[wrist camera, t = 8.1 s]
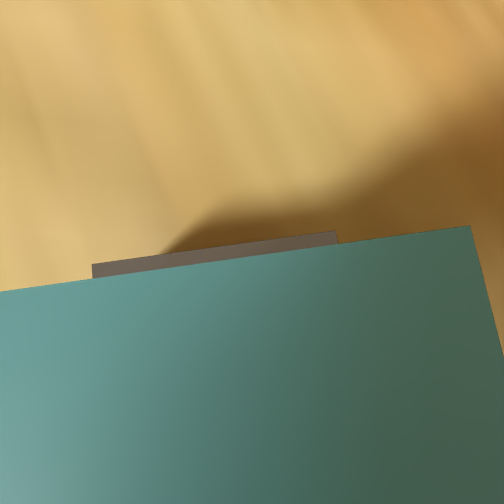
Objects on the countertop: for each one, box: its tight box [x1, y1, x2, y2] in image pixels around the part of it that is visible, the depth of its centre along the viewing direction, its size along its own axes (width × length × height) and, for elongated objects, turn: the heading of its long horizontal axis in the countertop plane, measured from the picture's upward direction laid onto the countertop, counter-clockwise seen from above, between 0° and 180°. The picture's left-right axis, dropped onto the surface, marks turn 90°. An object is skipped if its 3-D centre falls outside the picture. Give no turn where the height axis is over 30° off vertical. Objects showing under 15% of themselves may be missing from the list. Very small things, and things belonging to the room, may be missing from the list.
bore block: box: [92, 231, 338, 279], centre depth 16 cm, size 9×9×5 cm
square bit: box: [0, 225, 504, 504], centre depth 8 cm, size 4×4×13 cm
